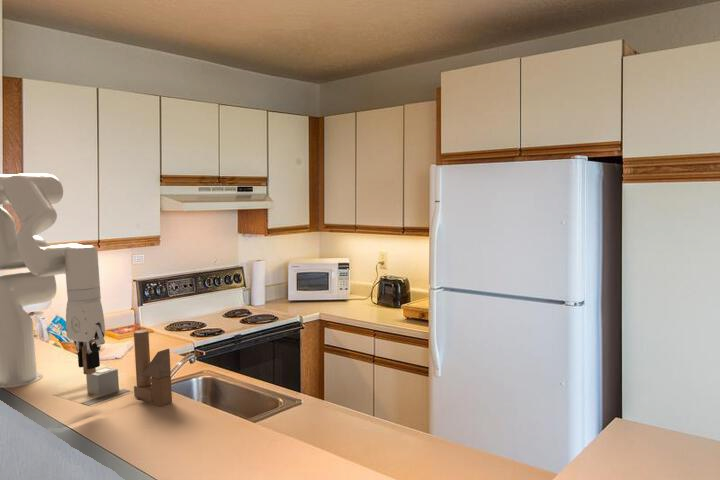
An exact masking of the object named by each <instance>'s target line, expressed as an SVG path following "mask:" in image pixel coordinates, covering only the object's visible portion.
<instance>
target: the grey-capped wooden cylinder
mask: <svg viewBox="0 0 720 480" xmlns="http://www.w3.org/2000/svg"><path fill="white" fill-rule="evenodd" d="M92 344H93V343H91V346H92ZM87 353H88V352H87V344H86V342H83V346H82V358H83V367H82V370H83V374H84V375H86V374H93V373H95V372H96V370H97V369H96V368H97V367H96V368H92V369H87V362H86V354H87Z"/></svg>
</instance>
